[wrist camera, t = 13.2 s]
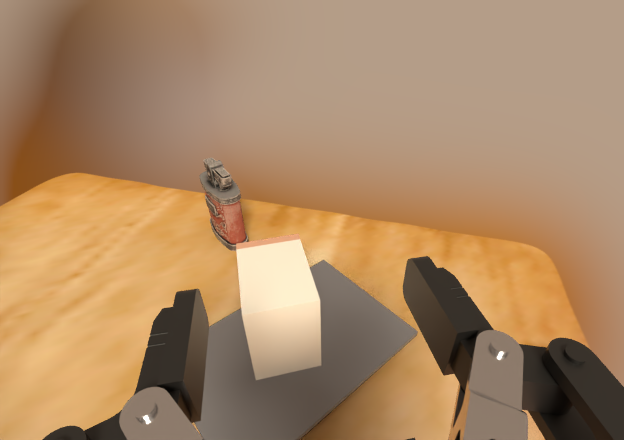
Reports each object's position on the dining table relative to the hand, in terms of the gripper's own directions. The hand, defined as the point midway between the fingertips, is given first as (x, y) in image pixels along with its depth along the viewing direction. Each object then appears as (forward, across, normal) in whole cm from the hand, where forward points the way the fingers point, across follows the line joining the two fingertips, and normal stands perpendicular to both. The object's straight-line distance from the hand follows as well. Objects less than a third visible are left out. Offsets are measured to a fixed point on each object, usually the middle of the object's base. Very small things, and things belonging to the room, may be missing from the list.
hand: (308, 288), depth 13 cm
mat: (+10, -1, -17) cm, 20 cm away
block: (+7, -1, -13) cm, 15 cm away
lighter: (+28, -7, -18) cm, 34 cm away
